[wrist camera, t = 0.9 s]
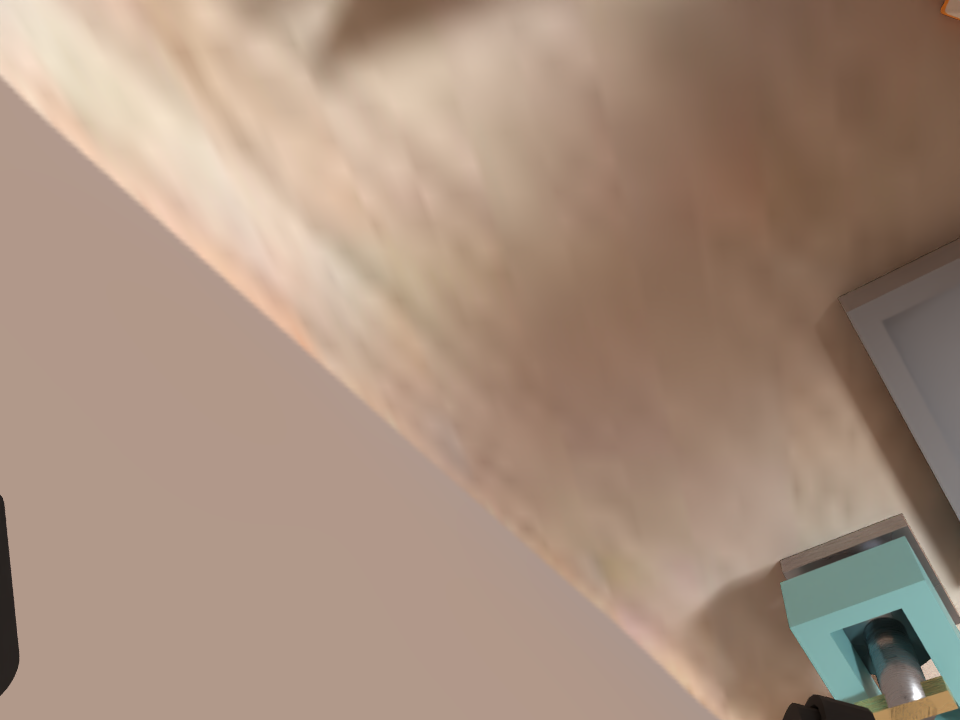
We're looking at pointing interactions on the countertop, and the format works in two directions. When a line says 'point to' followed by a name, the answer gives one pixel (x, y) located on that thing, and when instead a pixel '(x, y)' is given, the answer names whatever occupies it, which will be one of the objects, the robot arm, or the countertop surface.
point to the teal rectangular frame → (869, 617)
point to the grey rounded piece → (887, 630)
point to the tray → (919, 352)
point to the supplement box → (951, 8)
